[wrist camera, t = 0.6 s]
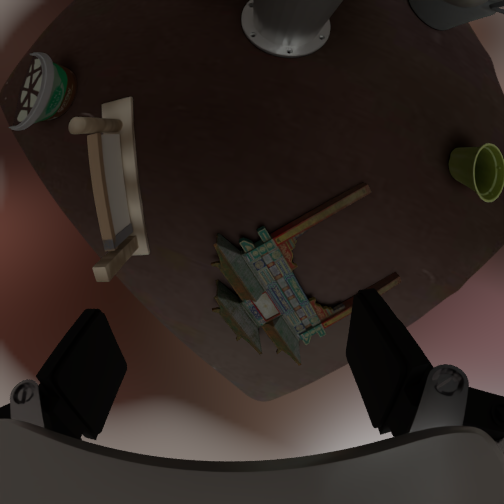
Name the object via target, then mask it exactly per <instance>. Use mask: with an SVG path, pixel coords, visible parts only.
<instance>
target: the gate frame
mask: <svg viewBox="0 0 504 504" xmlns="http://www.w3.org/2000/svg"><path fill="white" fill-rule="evenodd" d="M69 131H70V133H71V134H85V133H103V135H107V134H119V135H120V148H121V158H122V168H123V176H124V184H125V191H126V198H127V205H128V211H129V217H130V223H132V228H133V232H132V233H131V234H130V235H129V236H128V237H127V238H126V239H125V240H124V241H123V242H122V243H121V244H119V245H118V248H117V249H116V250H115V251H109V252H108V253H107V254H106V255H105V256H104V257H103V258H102V259H101V260H100V261H99V262H98V263H97V264H95V265H94V266H93V271H94V275H95V278H96V281H97V282H109V281H110V280H111V279H112V278H113V276H114V275H115V274H116V273H117V272H118V271H119V269H120V268H121V267H122V266H123V265H124V264H125V262H126V261H127V260H128V259H129V258H130V257H131V256H132V255H149V254H150V248H149V243H148V237H147V231H146V226H145V220H144V213H143V207H142V200H141V192H140V185H139V176H138V167H137V157H136V146H135V133H134V116H133V97H128V98H124V99H120V100H116V101H112V102H109V103H105V104H102V118H91V117H74V118H73V119H71V121H70V123H69Z"/></svg>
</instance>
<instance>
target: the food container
mask: <svg viewBox="0 0 504 504" xmlns="http://www.w3.org/2000/svg"><path fill="white" fill-rule="evenodd" d="M30 55H33V58H32V60H31V64H30V67H29V69H28V72H27V75H26V77H25V79H24V82H23V84H22V87H21V89H20V94H19V99H18V105H17V111H16V115H15V119H14V124H13V126H11V127H9V128H11V129H13V130H24V129H26V128H28V127H29V126H31V125H32V124H33V123H37V122H42V121H47V120H52V119H55V118H58V117H60V116H61V115H63V114H64V113H65V112H66V111H67V110H68V109H69V107H70V106H71V104H72V102H73V100H74V98H75V95H76V91H77V79H76V76H75V74H74V73H73V71H71V70H70V69H68V68H66V67H63V66H61V65H59V64H57V63H55V62H52V60H51V58H50V57H49V56H48V55H47V54H45V53H41V52H37V53H33V54H30Z"/></svg>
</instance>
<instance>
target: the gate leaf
mask: <svg viewBox="0 0 504 504" xmlns="http://www.w3.org/2000/svg"><path fill="white" fill-rule="evenodd" d="M87 143H88V154H89V163H90V172H91V179H92V186H93V193H94V199H95V205H96V210H97V216H98V221H99V226H100V231H101V235H102V240H103V244H104V248H105V251H115V250H116V249H117V248H118V245H119V244H121V243H122V242H123V241H124V240H125V239H126V238H127V237H128V236H129V235H130V234H131V233H132V232H133V228H132V223H130V217H129V211H128V205H127V198H126V191H125V184H124V176H123V168H122V158H121V148H120V135H119V134H107V135H101V133H96V134H92V135H89V136H87Z"/></svg>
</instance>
